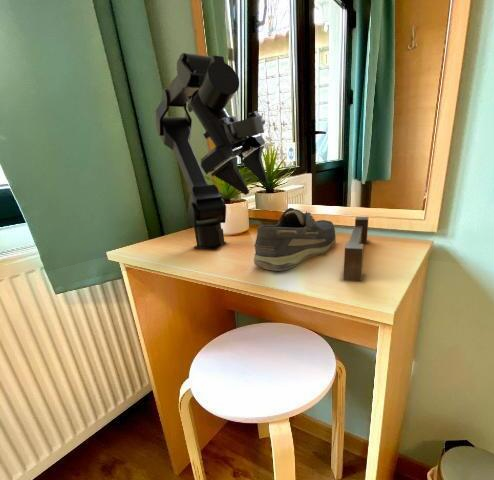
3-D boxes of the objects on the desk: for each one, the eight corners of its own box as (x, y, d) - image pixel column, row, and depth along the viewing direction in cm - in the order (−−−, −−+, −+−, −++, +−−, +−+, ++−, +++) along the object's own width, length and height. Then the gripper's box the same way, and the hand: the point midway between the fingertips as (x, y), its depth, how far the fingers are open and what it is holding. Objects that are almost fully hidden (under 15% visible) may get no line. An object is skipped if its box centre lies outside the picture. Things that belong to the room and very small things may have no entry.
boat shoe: (345, 241, 82) (347, 200, 78) (289, 279, 59) (287, 225, 55) (310, 236, 87) (309, 199, 83) (246, 270, 65) (241, 220, 60)
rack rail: (343, 280, 58) (344, 248, 55) (354, 240, 82) (356, 216, 80) (360, 281, 57) (362, 248, 54) (366, 240, 82) (368, 217, 79)
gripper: (216, 98, 51) (266, 181, 55) (262, 93, 65) (299, 159, 70) (178, 135, 57) (226, 207, 62) (228, 123, 71) (264, 182, 76)
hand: (257, 187), depth 67 cm, fingers open, 9 cm apart
